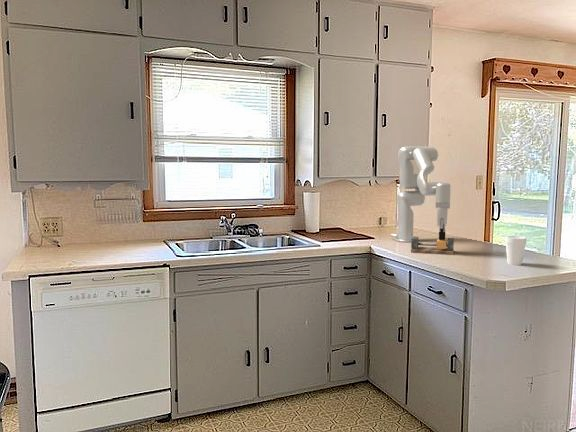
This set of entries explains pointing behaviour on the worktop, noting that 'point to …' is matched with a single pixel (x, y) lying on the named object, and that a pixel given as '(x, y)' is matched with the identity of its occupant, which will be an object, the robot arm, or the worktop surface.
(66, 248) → the worktop surface
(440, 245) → the carriage
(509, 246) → the foam cup
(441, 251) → the rail board
